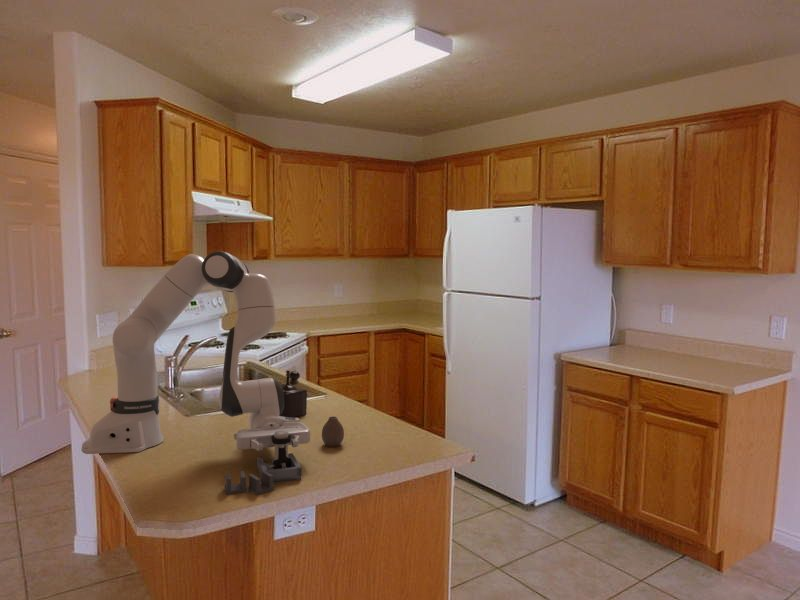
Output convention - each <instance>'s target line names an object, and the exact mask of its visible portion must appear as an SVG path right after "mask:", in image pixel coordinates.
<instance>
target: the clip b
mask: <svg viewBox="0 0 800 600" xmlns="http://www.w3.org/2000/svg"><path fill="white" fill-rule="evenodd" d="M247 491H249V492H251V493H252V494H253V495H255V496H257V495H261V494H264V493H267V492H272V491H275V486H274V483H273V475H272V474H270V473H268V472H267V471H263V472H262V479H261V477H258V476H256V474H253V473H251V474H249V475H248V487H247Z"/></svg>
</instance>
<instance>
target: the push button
mask: <svg viewBox="0 0 800 600" xmlns="http://www.w3.org/2000/svg"><path fill="white" fill-rule="evenodd" d="M271 439H272V442H273V443H274V444H275V446H274V458H273V460H272V461H271V463H272V465H271V467H272V468H271V469H269V470H273V469H282V468H290V467H291V459H290V458H288V454H289V452H288V451H289V450H288V448H289V445H288V443H290V441H291V435H290V434H288V432H287V431H277V432H275V434H274V435H272V436H271ZM268 467H270V466H268Z"/></svg>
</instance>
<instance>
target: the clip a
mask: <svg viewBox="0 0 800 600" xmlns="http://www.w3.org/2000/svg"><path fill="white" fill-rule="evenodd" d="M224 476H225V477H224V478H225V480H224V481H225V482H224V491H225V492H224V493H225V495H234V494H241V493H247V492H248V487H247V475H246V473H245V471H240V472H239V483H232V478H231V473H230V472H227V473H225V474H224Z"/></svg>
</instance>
